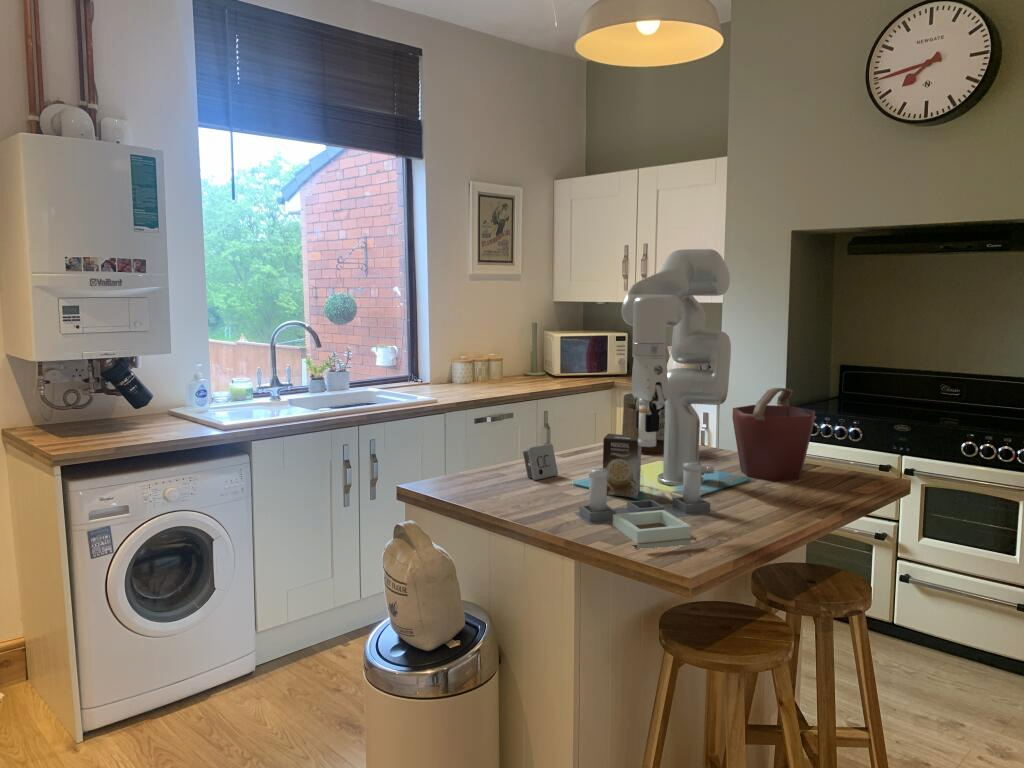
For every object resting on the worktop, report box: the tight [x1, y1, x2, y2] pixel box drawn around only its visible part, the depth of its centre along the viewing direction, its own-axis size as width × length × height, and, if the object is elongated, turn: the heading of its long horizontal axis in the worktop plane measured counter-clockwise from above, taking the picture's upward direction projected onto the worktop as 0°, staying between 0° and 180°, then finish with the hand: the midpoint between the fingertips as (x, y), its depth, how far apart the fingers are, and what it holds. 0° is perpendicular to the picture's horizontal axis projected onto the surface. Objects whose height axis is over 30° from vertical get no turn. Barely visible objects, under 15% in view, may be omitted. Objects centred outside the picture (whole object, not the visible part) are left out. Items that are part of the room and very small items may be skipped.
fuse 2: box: [682, 461, 703, 504], centre depth 184 cm, size 4×4×11 cm
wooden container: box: [621, 392, 665, 455], centre depth 256 cm, size 15×15×22 cm
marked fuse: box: [638, 398, 656, 447], centre depth 179 cm, size 4×4×11 cm
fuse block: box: [573, 496, 717, 526], centre depth 182 cm, size 32×10×4 cm, turn 106°
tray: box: [612, 510, 692, 549], centre depth 168 cm, size 12×12×4 cm
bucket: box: [731, 387, 816, 482], centre depth 223 cm, size 24×22×25 cm
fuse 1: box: [588, 467, 608, 513], centre depth 177 cm, size 4×4×11 cm
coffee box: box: [602, 433, 642, 498], centre depth 198 cm, size 9×6×16 cm
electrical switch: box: [522, 443, 559, 481], centre depth 221 cm, size 9×5×9 cm, turn 131°
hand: (647, 428), depth 179 cm, fingers closed on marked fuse, 4 cm apart
